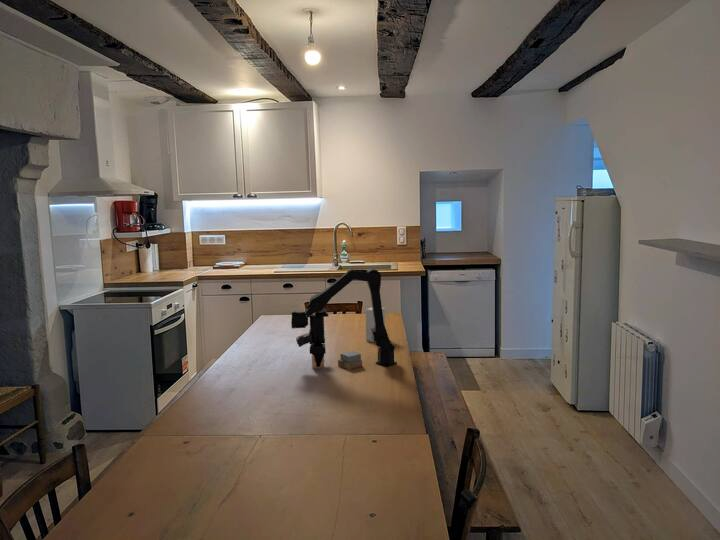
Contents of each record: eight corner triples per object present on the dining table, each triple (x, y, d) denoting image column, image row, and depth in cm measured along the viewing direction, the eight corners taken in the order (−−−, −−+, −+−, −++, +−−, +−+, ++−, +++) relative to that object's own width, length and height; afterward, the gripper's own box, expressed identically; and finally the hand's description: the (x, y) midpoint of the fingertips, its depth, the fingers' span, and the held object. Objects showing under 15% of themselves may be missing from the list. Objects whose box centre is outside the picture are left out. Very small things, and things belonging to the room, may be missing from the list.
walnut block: (362, 367, 220) (362, 360, 220) (349, 370, 216) (349, 363, 215) (351, 363, 226) (351, 356, 225) (338, 367, 221) (337, 359, 221)
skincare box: (376, 343, 254) (375, 310, 252) (364, 341, 258) (364, 309, 256) (386, 339, 261) (385, 307, 259) (375, 337, 265) (374, 306, 263)
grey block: (360, 359, 220) (360, 354, 220) (348, 362, 217) (348, 356, 216) (352, 356, 225) (352, 350, 225) (340, 359, 221) (340, 353, 221)
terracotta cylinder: (326, 367, 220) (326, 355, 219) (316, 370, 216) (316, 357, 216) (319, 364, 223) (319, 352, 223) (309, 367, 220) (309, 355, 219)
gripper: (297, 322, 226) (299, 358, 228) (296, 333, 208) (297, 373, 210) (324, 321, 227) (325, 357, 229) (325, 332, 209) (326, 371, 211)
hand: (318, 364), depth 220 cm, fingers closed on terracotta cylinder, 5 cm apart
